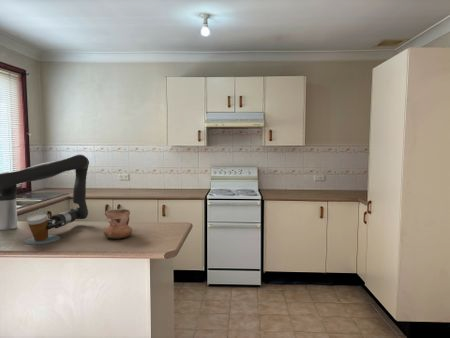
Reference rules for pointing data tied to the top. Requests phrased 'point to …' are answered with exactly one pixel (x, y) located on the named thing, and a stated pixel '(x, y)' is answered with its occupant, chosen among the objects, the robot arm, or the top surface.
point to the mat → (50, 239)
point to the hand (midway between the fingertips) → (39, 227)
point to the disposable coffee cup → (38, 226)
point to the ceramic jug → (118, 224)
